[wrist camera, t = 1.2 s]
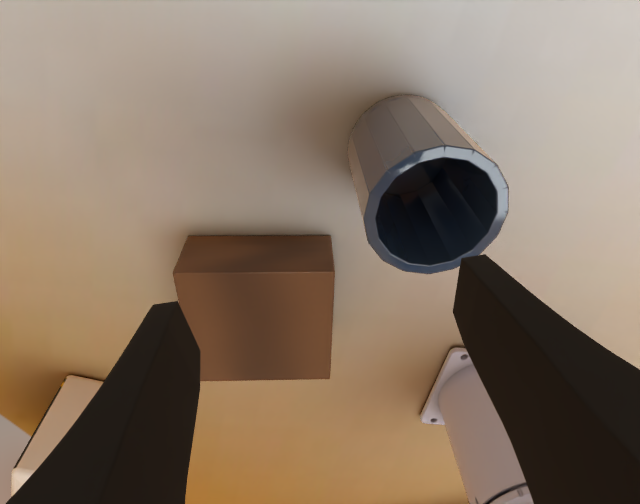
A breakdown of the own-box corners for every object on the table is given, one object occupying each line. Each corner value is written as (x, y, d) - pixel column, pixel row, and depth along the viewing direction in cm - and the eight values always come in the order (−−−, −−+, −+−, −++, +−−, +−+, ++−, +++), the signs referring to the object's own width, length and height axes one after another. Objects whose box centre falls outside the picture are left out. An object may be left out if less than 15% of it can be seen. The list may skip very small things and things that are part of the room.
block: (330, 234, 25) (334, 271, 22) (327, 337, 29) (330, 379, 26) (187, 235, 24) (172, 272, 21) (205, 339, 29) (195, 381, 26)
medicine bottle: (67, 371, 30) (-51, 577, 20) (171, 393, 31) (111, 593, 21) (60, 431, 33) (-43, 630, 23) (154, 448, 35) (96, 641, 25)
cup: (468, 103, 21) (533, 157, 15) (434, 201, 24) (478, 280, 18) (359, 86, 20) (383, 136, 14) (339, 189, 23) (351, 266, 17)
